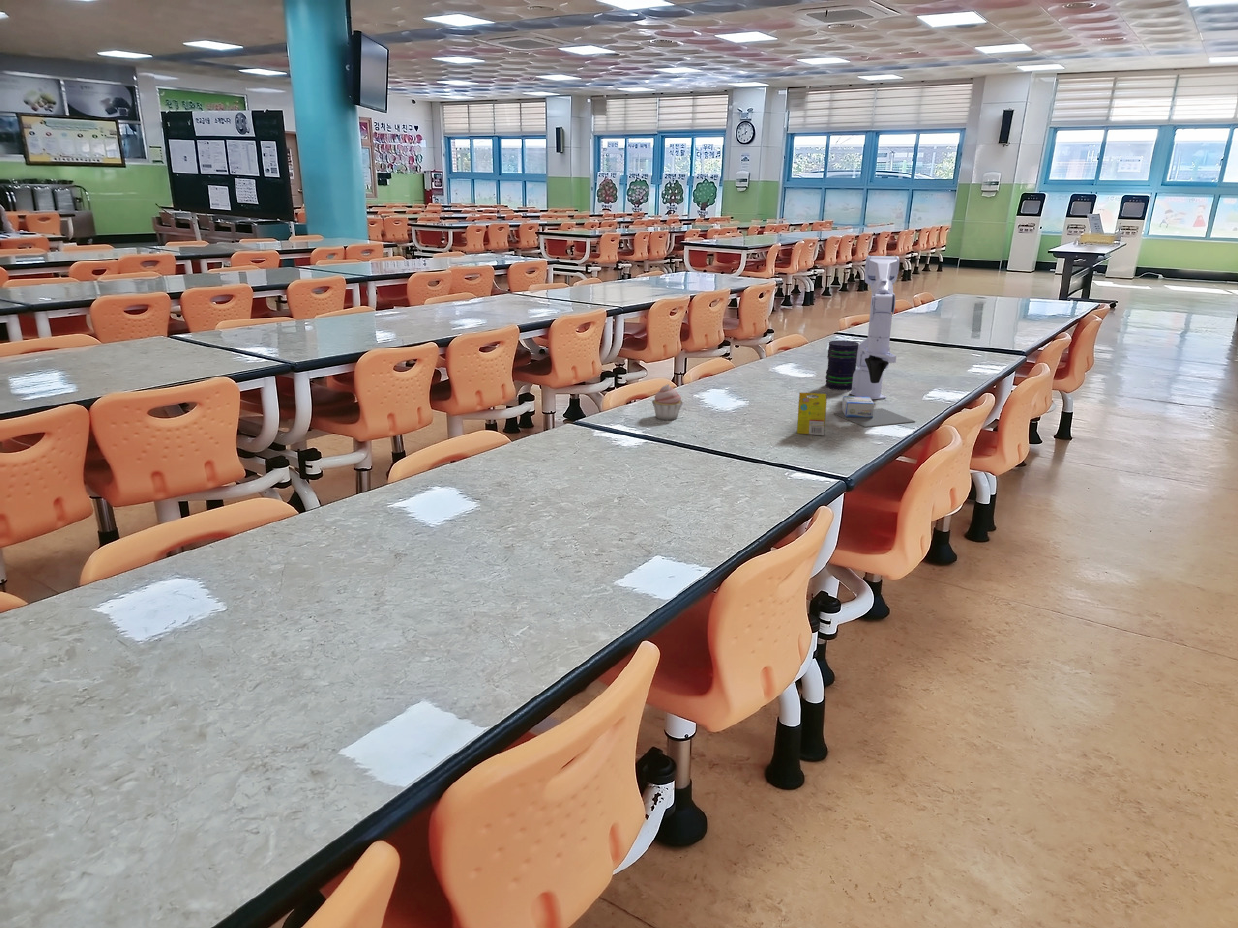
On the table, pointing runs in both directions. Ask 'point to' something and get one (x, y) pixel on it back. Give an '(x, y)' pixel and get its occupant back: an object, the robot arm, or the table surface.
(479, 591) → the table surface
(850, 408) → the medicine box
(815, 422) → the crayon box
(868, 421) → the mat
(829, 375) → the storage jar
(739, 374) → the table surface
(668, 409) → the cupcake
